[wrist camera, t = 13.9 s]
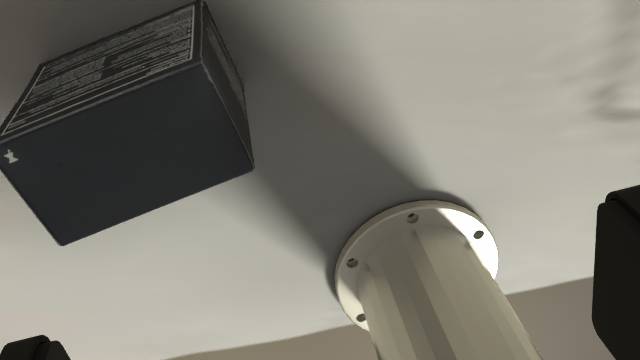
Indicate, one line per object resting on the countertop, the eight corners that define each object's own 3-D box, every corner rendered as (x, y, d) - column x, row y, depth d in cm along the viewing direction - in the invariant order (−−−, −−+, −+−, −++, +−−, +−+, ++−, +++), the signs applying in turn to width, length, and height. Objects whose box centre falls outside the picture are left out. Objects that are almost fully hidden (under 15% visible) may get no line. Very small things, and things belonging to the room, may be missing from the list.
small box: (94, 155, 38) (58, 256, 30) (34, 64, 35) (-28, 146, 26) (249, 93, 38) (259, 177, 29) (203, -6, 35) (199, 54, 26)
